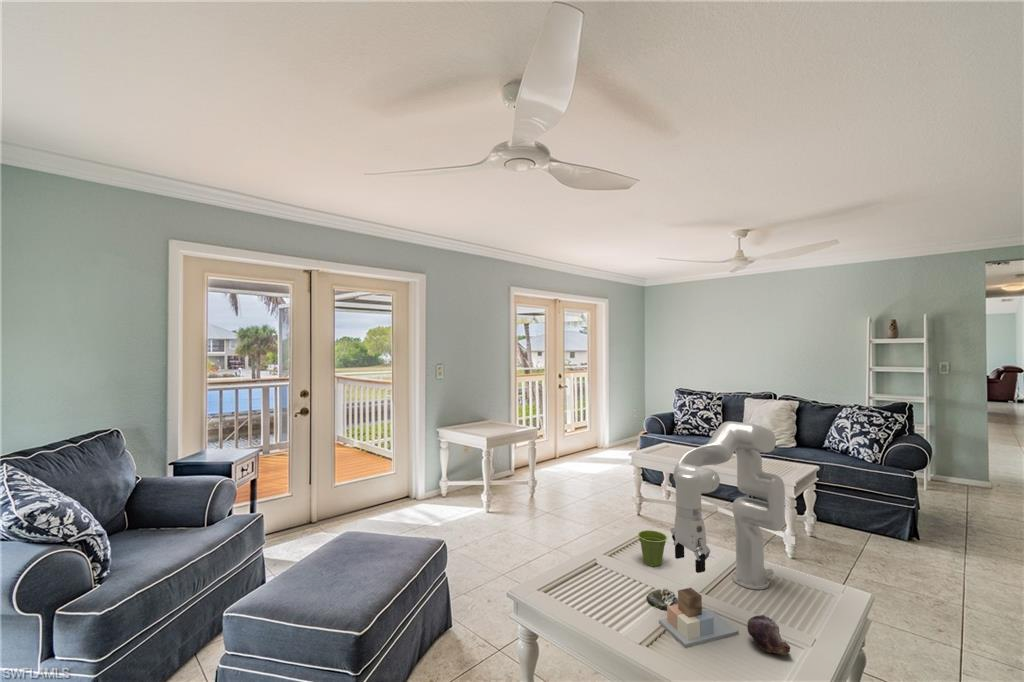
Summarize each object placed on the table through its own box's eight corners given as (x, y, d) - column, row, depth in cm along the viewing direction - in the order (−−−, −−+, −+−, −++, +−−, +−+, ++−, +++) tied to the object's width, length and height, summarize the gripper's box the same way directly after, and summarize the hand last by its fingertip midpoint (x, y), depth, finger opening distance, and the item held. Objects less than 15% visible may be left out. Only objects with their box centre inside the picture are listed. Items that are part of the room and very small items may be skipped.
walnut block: (691, 606, 149) (690, 587, 149) (701, 614, 144) (701, 595, 144) (678, 609, 147) (677, 590, 147) (688, 617, 142) (688, 598, 142)
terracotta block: (679, 618, 150) (679, 603, 150) (689, 627, 146) (689, 611, 146) (667, 621, 149) (667, 606, 149) (676, 630, 144) (676, 614, 144)
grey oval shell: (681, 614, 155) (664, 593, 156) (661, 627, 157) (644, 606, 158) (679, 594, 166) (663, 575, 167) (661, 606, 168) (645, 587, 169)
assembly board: (708, 611, 156) (708, 608, 156) (738, 634, 143) (738, 631, 143) (658, 622, 149) (658, 619, 149) (685, 647, 137) (685, 644, 137)
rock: (771, 640, 142) (740, 639, 142) (769, 610, 144) (738, 610, 144) (796, 659, 131) (761, 659, 131) (793, 626, 132) (759, 626, 132)
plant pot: (671, 569, 185) (671, 541, 185) (642, 569, 185) (642, 541, 185) (662, 556, 197) (662, 529, 197) (634, 556, 197) (634, 529, 197)
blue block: (702, 624, 147) (702, 609, 147) (713, 633, 142) (713, 617, 142) (690, 627, 145) (690, 612, 145) (701, 636, 141) (700, 620, 141)
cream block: (689, 627, 145) (689, 612, 145) (700, 636, 141) (700, 620, 141) (677, 630, 144) (677, 615, 144) (687, 639, 139) (687, 623, 139)
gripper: (718, 519, 139) (719, 575, 139) (680, 500, 155) (681, 551, 155) (697, 523, 136) (699, 580, 137) (661, 503, 153) (662, 554, 153)
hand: (689, 564), depth 146 cm, fingers open, 9 cm apart
